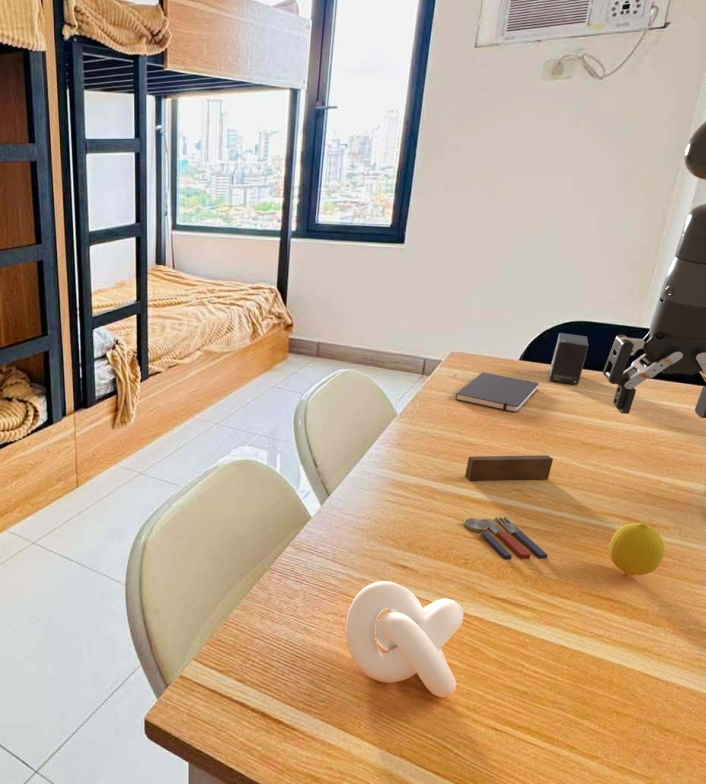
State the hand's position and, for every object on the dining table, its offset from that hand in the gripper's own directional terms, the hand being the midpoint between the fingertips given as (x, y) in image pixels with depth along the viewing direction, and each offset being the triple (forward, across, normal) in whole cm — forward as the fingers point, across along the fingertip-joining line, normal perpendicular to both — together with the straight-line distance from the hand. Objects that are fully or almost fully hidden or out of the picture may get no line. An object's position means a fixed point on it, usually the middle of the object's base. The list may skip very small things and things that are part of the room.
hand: (660, 413), depth 82 cm
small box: (+34, -16, -82) cm, 90 cm away
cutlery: (+21, +16, +3) cm, 26 cm away
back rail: (+24, +10, -18) cm, 31 cm away
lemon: (+21, +2, +8) cm, 22 cm away
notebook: (+31, +2, -64) cm, 71 cm away
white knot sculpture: (+16, +32, +36) cm, 50 cm away
